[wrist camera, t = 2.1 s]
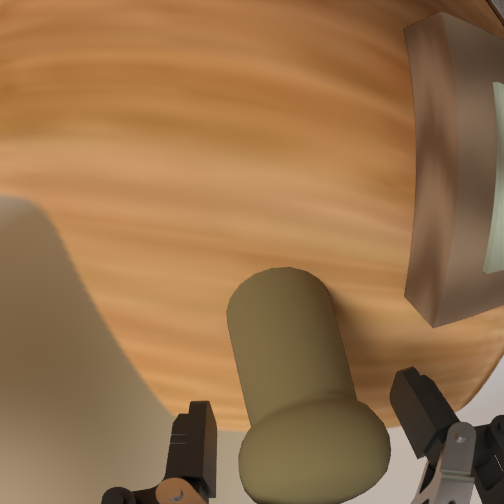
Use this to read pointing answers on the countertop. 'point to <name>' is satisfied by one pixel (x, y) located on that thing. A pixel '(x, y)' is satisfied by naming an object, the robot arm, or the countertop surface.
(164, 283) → the countertop surface
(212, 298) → the countertop surface
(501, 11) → the tin
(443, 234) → the stand
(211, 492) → the robot arm
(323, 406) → the olive pepper mill
